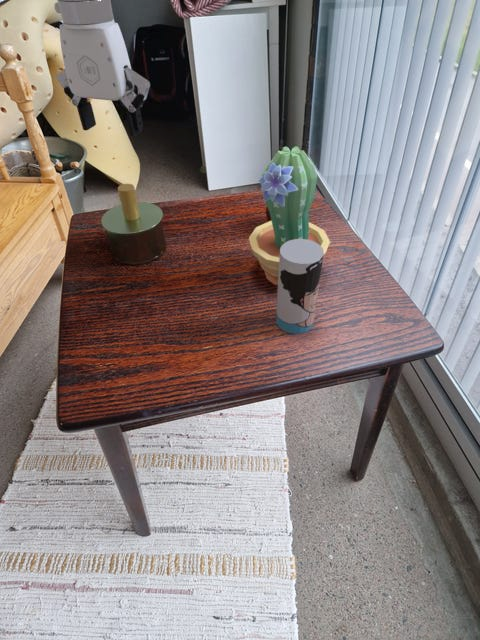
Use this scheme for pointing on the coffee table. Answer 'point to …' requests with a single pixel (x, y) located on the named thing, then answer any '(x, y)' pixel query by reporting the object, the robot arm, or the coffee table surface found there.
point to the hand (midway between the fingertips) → (113, 130)
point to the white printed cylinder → (298, 285)
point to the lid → (131, 214)
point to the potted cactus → (286, 208)
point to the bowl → (138, 246)
